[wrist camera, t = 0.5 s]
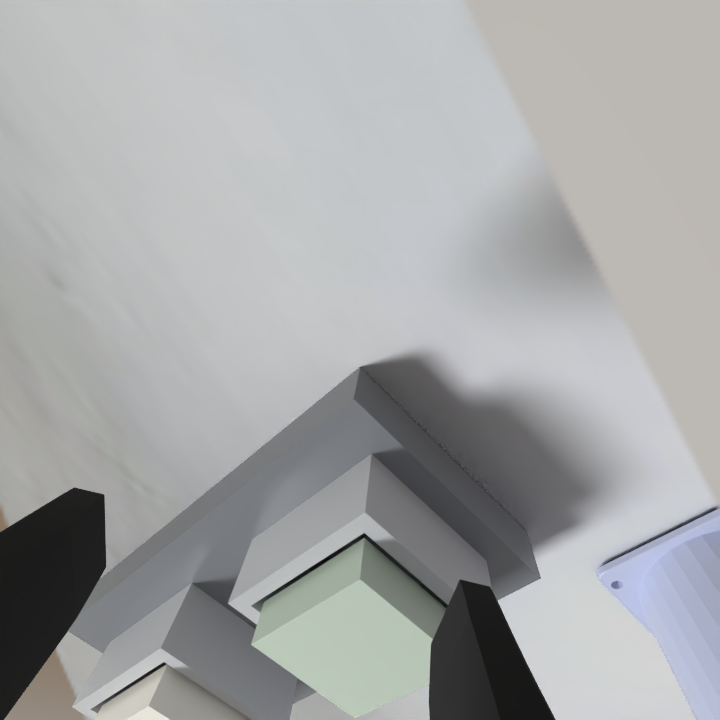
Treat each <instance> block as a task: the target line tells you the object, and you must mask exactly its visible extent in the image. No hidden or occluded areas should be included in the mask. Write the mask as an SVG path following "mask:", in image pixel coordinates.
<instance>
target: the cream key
mask: <svg viewBox="0 0 720 720" xmlns="http://www.w3.org/2000/svg"><path fill="white" fill-rule="evenodd" d="M95 720H251V719H250V718H248V717H247V716H245V715H244V714H242V713H241V712H239V711H238V710H236V709H235V708H233V707H232V706H230V705H229V704H227V703H226V702H224V701H223V700H221V699H219V698H218V697H216V696H215V695H213V694H212V693H210V692H209V691H207V690H206V689H204V688H203V687H201V686H200V685H198V684H197V683H195V682H194V681H192V680H191V679H189V678H188V677H186V676H185V675H183V674H182V673H180V672H178V671H177V670H175V669H174V668H172V667H171V666H169V665H168V664H166V665H165V666H163V667H162V668H160V669H158V670H157V671H155V672H154V673H152V674H151V675H149V676H147V677H146V678H144V679H143V680H141V681H140V682H138V683H136V684H135V685H133V686H132V687H130V688H129V689H127V690H126V691H124V692H122V693H121V694H119V695H118V696H116V697H115V698H113V699H111V700H110V701H108V702H107V703H105V704H104V705H102V707H101V709H100V710H99V712H98V714H97V716H96V718H95Z"/></svg>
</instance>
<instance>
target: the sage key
mask: <svg viewBox="0 0 720 720" xmlns="http://www.w3.org/2000/svg"><path fill="white" fill-rule="evenodd" d="M446 609H447V608H445V607H444V606H443V605H442V604H441V603H440V602H438V601H437V600H436V599H435V598H434V597H433V596H431V595H430V594H429V593H428V592H427V591H426V590H424V589H423V588H422V587H421V586H420V585H419V584H418V583H416V582H415V581H414V580H413V579H412V578H411V577H409V576H408V575H407V574H406V573H405V572H404V571H402V570H401V569H400V568H399V567H398V566H397V565H395V564H394V563H393V562H392V561H391V560H390V559H388V558H387V557H386V556H385V555H384V554H383V553H381V552H380V551H379V550H378V549H377V548H376V547H374V546H373V545H372V544H371V543H370V542H369V541H367V540H366V539H365V538H363V539H362V540H360V541H359V542H357V543H356V544H354V545H352V546H351V547H349V548H348V549H346V550H345V551H343V552H341V553H340V554H338V555H337V556H335V557H334V558H332V559H330V560H329V561H327V562H326V563H324V564H323V565H321V566H320V567H318V568H316V569H315V570H313V571H312V572H310V573H309V574H307V575H305V576H304V577H302V578H301V579H299V580H298V581H296V582H295V583H293V584H291V585H290V586H288V587H287V588H285V589H284V590H282V591H280V592H279V593H277V594H276V595H274V596H273V597H271V598H269V599H268V600H266V601H265V602H264V604H263V607H262V610H261V613H260V617H259V620H258V623H257V626H256V630H255V633H254V636H253V640H252V643H251V645H252V646H254V647H255V648H256V649H258V650H259V651H261V652H262V653H263V654H265V655H266V656H268V657H269V658H270V659H272V660H273V661H275V662H276V663H277V664H279V665H280V666H282V667H283V668H284V669H286V670H287V671H289V672H290V673H292V674H293V675H294V676H296V677H297V678H299V679H300V680H301V681H303V682H304V683H306V684H307V685H308V686H310V687H311V688H313V689H314V690H315V691H317V692H318V693H320V694H321V695H322V696H324V697H325V698H327V699H328V700H329V701H331V702H332V703H334V704H335V705H336V706H338V707H339V708H341V709H342V710H343V711H345V712H346V713H348V714H349V715H350V716H352V717H353V718H357V717H360V716H362V715H364V714H366V713H368V712H371V711H373V710H375V709H377V708H379V707H381V706H384V705H386V704H388V703H390V702H392V701H394V700H397V699H399V698H401V697H403V696H405V695H408V694H410V693H412V692H414V691H416V690H418V689H421V688H423V687H425V686H427V685H429V681H430V654H431V643H432V640H433V638H434V636H435V634H436V631H437V629H438V627H439V625H440V622H441V620H442V618H443V616H444V613H445V611H446Z"/></svg>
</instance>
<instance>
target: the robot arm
mask: <svg viewBox="0 0 720 720" xmlns="http://www.w3.org/2000/svg"><path fill="white" fill-rule="evenodd" d="M105 568H106V545H105V504H104V495H103V494H99V493H95V492H91V491H86V490H82V489H78V488H73V489H71V490H69V491H68V492H66V493H64V494H62V495H61V496H59V497H57V498H56V499H54V500H52V501H51V502H49V503H47V504H46V505H44V506H42V507H41V508H39V509H37V510H36V511H34V512H33V513H31V514H29V515H28V516H26V517H24V518H23V519H21V520H19V521H18V522H16V523H15V524H13V525H11V526H10V527H8V528H6V529H5V530H3V531H1V532H0V720H4V719H5V717H6V716H7V715H8V713H9V712H10V710H11V709H12V708H13V706H14V705H15V703H16V702H17V701H18V699H19V698H20V697H21V695H22V694H23V692H24V691H25V690H26V688H27V687H28V686H29V684H30V683H31V681H32V680H33V679H34V677H35V676H36V674H37V673H38V672H39V670H40V669H41V668H42V666H43V665H44V663H45V662H46V661H47V659H48V658H49V657H50V655H51V654H52V652H53V651H54V650H55V648H56V647H57V645H58V644H59V643H60V641H61V640H62V638H63V637H64V636H65V634H66V633H67V631H68V630H69V628H70V627H71V626H72V624H73V623H74V621H75V620H76V618H77V617H78V615H79V613H80V612H81V610H82V608H83V607H84V605H85V603H86V601H87V600H88V598H89V596H90V595H91V593H92V591H93V589H94V588H95V586H96V584H97V582H98V580H99V579H100V577H101V575H102V573H103V571H104V570H105ZM597 576H598V579H599V581H600V582H601V584H602V585H603V586H604V587H605V588H606V589H607V590H608V591H609V592H610V593H611V594H612V595H613V596H614V597H615V598H616V599H617V600H618V601H619V602H620V603H621V604H622V605H623V606H624V607H625V608H626V609H627V610H628V611H629V612H630V613H631V614H632V615H633V616H634V617H635V618H636V619H637V620H638V621H639V622H640V623H641V624H642V625H643V626H644V627H645V628H646V629H647V630H648V631H649V632H650V633H651V634H652V635H653V636H654V637H655V638H656V639H657V641H658V643H659V646H660V648H661V650H662V652H663V654H664V656H665V658H666V660H667V662H668V664H669V666H670V668H671V670H672V672H673V674H674V676H675V678H676V680H677V682H678V684H679V686H680V688H681V690H682V692H683V694H684V696H685V698H686V700H687V702H688V704H689V706H690V708H691V710H692V712H693V714H694V716H695V719H696V720H720V508H719V509H717V510H715V511H713V512H711V513H708V514H706V515H704V516H702V517H700V518H698V519H696V520H694V521H692V522H690V523H688V524H686V525H684V526H682V527H680V528H678V529H676V530H674V531H672V532H670V533H668V534H666V535H664V536H662V537H660V538H658V539H656V540H654V541H652V542H650V543H647V544H645V545H643V546H641V547H639V548H637V549H635V550H633V551H631V552H629V553H627V554H625V555H623V556H621V557H619V558H617V559H615V560H613V561H611V562H609V563H607V564H605V565H603V566H601V567H600V568H599V569H598V570H597ZM429 710H430V720H555V718H554V716H553V714H552V712H551V710H550V708H549V706H548V704H547V702H546V700H545V698H544V696H543V695H542V693H541V691H540V689H539V687H538V685H537V683H536V681H535V679H534V677H533V675H532V673H531V671H530V669H529V667H528V665H527V663H526V661H525V659H524V657H523V655H522V652H521V650H520V648H519V646H518V644H517V642H516V640H515V638H514V636H513V634H512V632H511V629H510V627H509V625H508V623H507V621H506V619H505V617H504V614H503V612H502V610H501V608H500V606H499V603H498V601H497V599H496V597H495V595H494V593H493V591H492V589H491V588H490V586H486V585H482V584H477V583H473V582H469V581H465V580H461V579H460V580H459V582H458V584H457V587H456V589H455V591H454V593H453V596H452V598H451V600H450V602H449V605H448V607H447V609H446V611H445V613H444V616H443V618H442V620H441V622H440V625H439V627H438V629H437V631H436V634H435V636H434V638H433V640H432V643H431V654H430V681H429Z"/></svg>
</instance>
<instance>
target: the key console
mask: <svg viewBox="0 0 720 720" xmlns="http://www.w3.org/2000/svg"><path fill="white" fill-rule="evenodd" d="M363 538H365V539H366V540H367V541H369V542H370V543H371V544H372V545H373V546H374V547H376V548H377V549H378V550H379V551H380V552H381V553H383V554H384V555H385V556H386V557H387V558H388V559H390V560H391V561H392V562H393V563H394V564H395V565H397V566H398V567H399V568H400V569H401V570H402V571H404V572H405V573H406V574H407V575H408V576H409V577H411V578H412V579H413V580H414V581H415V582H416V583H418V584H419V585H420V586H421V587H422V588H423V589H424V590H426V591H427V592H428V593H429V594H430V595H431V596H433V597H434V598H435V599H436V600H437V601H438V602H440V603H441V604H442V605H443V606H444V607H445V608H447V607H448V605H449V602H450V600H451V598H452V596H453V593H454V591H455V589H456V587H457V584H458V582H459V580H460V579H461V580H465V581H469V582H473V583H477V584H482V585H486V586H490V588H491V589H492V591H493V593H494V595H495V597H496V599H497V600H499V599H501V598H503V597H505V596H507V595H509V594H511V593H513V592H515V591H517V590H519V589H521V588H523V587H525V586H527V585H529V584H530V583H532V582H534V581H536V580H538V579H540V578H541V577H540V574H539V571H538V567H537V564H536V561H535V557H534V554H533V551H532V547H531V544H530V541H529V537H528V534H527V532H526V531H525V530H524V529H523V528H522V527H521V526H520V525H519V524H518V523H517V522H516V521H515V520H514V519H513V518H512V517H511V516H510V515H509V514H508V513H507V512H506V511H505V510H504V509H503V508H502V507H501V506H500V505H499V504H498V503H497V502H496V501H495V500H494V499H493V498H492V497H491V496H490V495H489V494H488V493H487V492H486V491H485V490H484V489H483V488H482V487H481V486H480V485H479V484H478V483H477V482H476V481H475V480H474V479H473V478H472V477H471V476H470V475H469V474H468V473H467V472H466V471H465V470H464V469H463V468H462V467H461V466H460V465H459V464H458V463H457V462H456V461H455V460H454V459H452V458H451V457H450V456H449V455H448V454H447V453H446V452H445V451H444V450H443V449H442V448H441V447H440V446H439V445H438V444H437V443H436V442H435V441H434V440H433V439H432V438H431V437H430V436H429V435H428V434H427V433H426V432H425V431H424V430H423V429H422V428H421V427H420V426H419V425H418V424H417V423H416V422H415V421H414V420H413V419H412V418H411V417H410V416H409V415H408V414H407V413H406V412H405V411H404V410H403V409H402V408H401V407H400V406H399V405H398V404H397V403H396V402H395V401H394V400H393V399H392V398H391V397H390V396H389V395H388V394H387V393H386V392H385V391H384V390H383V389H382V388H381V387H380V386H379V385H378V384H377V383H376V382H375V381H374V380H373V379H372V378H371V377H370V376H368V375H367V374H366V373H365V372H364V371H363V370H362V369H361V368H360V367H359V368H358V369H357V370H356V371H355V372H353V373H352V374H351V375H350V376H348V377H347V378H346V379H345V380H344V381H342V382H341V383H340V384H339V385H337V386H336V387H335V388H334V389H333V390H331V391H330V392H329V393H328V394H326V395H325V396H324V397H323V398H322V399H320V400H319V401H318V402H317V403H315V404H314V405H313V406H312V407H311V408H309V409H308V410H307V411H306V412H304V413H303V414H302V415H301V416H299V417H298V418H297V419H296V420H295V421H293V422H292V423H291V424H290V425H288V426H287V427H286V428H285V429H284V430H282V431H281V432H280V433H279V434H277V435H276V436H275V437H274V438H273V439H271V440H270V441H269V442H268V443H266V444H265V445H264V446H263V447H262V448H260V449H259V450H258V451H257V452H255V453H254V454H253V455H252V456H251V457H249V458H248V459H247V460H246V461H244V462H243V463H242V464H241V465H240V466H238V467H237V468H236V469H235V470H233V471H232V472H231V473H230V474H228V475H227V476H226V477H225V478H224V479H222V480H221V481H220V482H219V483H217V484H216V485H215V486H214V487H213V488H211V489H210V490H209V491H208V492H206V493H205V494H204V495H203V496H202V497H200V498H199V499H198V500H197V501H195V502H194V503H193V504H192V505H191V506H189V507H188V508H187V509H186V510H184V511H183V512H182V513H181V514H180V515H178V516H177V517H176V518H175V519H173V520H172V521H171V522H170V523H168V524H167V525H166V526H165V527H164V528H162V529H161V530H160V531H159V532H157V533H156V534H155V535H154V536H153V537H151V538H150V539H149V540H148V541H146V542H145V543H144V544H143V545H142V546H140V547H139V548H138V549H137V550H135V551H134V552H133V553H132V554H131V555H129V556H128V557H127V558H126V559H124V560H123V561H122V562H121V563H120V564H118V565H117V566H116V567H115V568H113V569H112V570H111V571H110V572H109V573H107V574H106V575H105V576H104V577H102V578H101V579H100V580H99V581H98V582H97V584H96V586H95V588H94V589H93V591H92V593H91V595H90V596H89V598H88V600H87V601H86V603H85V605H84V607H83V608H82V610H81V612H80V613H79V615H78V617H77V618H76V620H75V621H74V623H73V624H72V626H71V627H70V628H69V630H68V631H69V632H70V633H72V634H74V635H75V636H77V637H78V638H80V639H81V640H83V641H84V642H86V643H88V644H89V645H91V646H92V647H94V648H95V649H97V650H99V651H100V652H102V653H103V655H102V657H101V658H100V660H99V662H98V663H97V665H96V667H95V668H94V670H93V672H92V674H91V675H90V677H89V679H88V680H87V682H86V684H85V686H84V687H83V689H82V691H81V692H80V694H79V696H78V698H77V699H76V701H75V703H74V704H73V706H72V707H73V708H74V709H76V710H78V711H79V712H81V713H83V714H84V715H86V716H88V717H89V718H91V719H93V720H95V718H96V716H97V714H98V712H99V710H100V709H101V707H102V705H104V704H105V703H107V702H108V701H110V700H111V699H113V698H115V697H116V696H118V695H119V694H121V693H122V692H124V691H126V690H127V689H129V688H130V687H132V686H133V685H135V684H136V683H138V682H140V681H141V680H143V679H144V678H146V677H147V676H149V675H151V674H152V673H154V672H155V671H157V670H158V669H160V668H162V667H163V666H165V665H166V664H168V665H169V666H171V667H172V668H174V669H175V670H177V671H178V672H180V673H182V674H183V675H185V676H186V677H188V678H189V679H191V680H192V681H194V682H195V683H197V684H198V685H200V686H201V687H203V688H204V689H206V690H207V691H209V692H210V693H212V694H213V695H215V696H216V697H218V698H219V699H221V700H223V701H224V702H226V703H227V704H229V705H230V706H232V707H233V708H235V709H236V710H238V711H239V712H241V713H242V714H244V715H245V716H247V717H248V718H250V719H251V720H289V719H290V714H291V709H292V704H294V703H296V702H298V701H300V700H302V699H304V698H306V697H308V696H310V695H312V694H313V693H315V692H317V691H315V690H314V689H313V688H311V687H310V686H308V685H307V684H306V683H304V682H303V681H301V680H300V679H299V678H297V677H296V676H294V675H293V674H292V673H290V672H289V671H287V670H286V669H284V668H283V667H282V666H280V665H279V664H277V663H276V662H275V661H273V660H272V659H270V658H269V657H268V656H266V655H265V654H263V653H262V652H261V651H259V650H258V649H256V648H255V647H254V646H252V645H251V643H252V640H253V636H254V633H255V630H256V626H257V623H258V620H259V617H260V613H261V610H262V607H263V604H264V602H265V601H266V600H268V599H269V598H271V597H273V596H274V595H276V594H277V593H279V592H280V591H282V590H284V589H285V588H287V587H288V586H290V585H291V584H293V583H295V582H296V581H298V580H299V579H301V578H302V577H304V576H305V575H307V574H309V573H310V572H312V571H313V570H315V569H316V568H318V567H320V566H321V565H323V564H324V563H326V562H327V561H329V560H330V559H332V558H334V557H335V556H337V555H338V554H340V553H341V552H343V551H345V550H346V549H348V548H349V547H351V546H352V545H354V544H356V543H357V542H359V541H360V540H362V539H363Z"/></svg>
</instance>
